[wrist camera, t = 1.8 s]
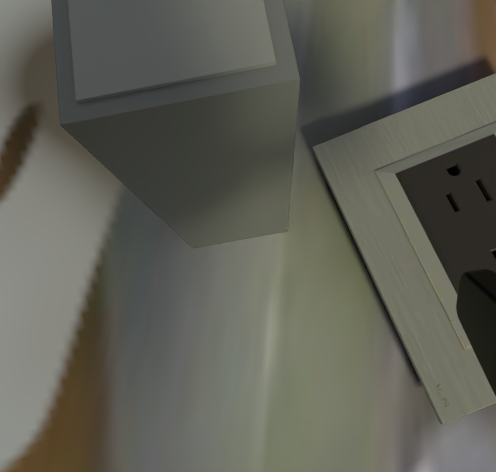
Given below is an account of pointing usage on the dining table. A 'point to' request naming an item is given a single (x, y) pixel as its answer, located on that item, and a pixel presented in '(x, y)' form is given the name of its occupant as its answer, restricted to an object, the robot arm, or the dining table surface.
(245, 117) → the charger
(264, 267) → the dining table surface
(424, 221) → the electrical outlet
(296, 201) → the dining table surface
